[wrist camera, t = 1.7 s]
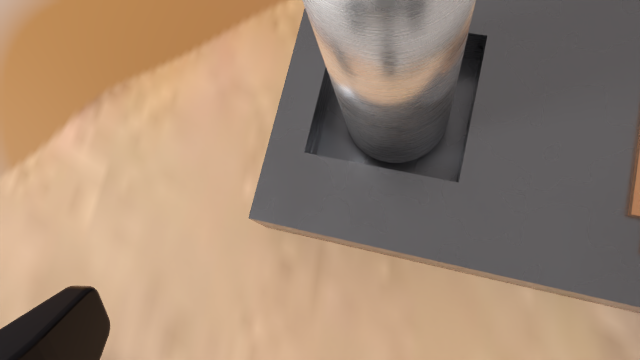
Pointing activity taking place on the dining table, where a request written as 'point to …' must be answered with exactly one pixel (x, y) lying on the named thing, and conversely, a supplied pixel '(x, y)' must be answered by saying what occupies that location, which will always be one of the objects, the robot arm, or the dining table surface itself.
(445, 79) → the steel peg
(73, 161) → the dining table surface
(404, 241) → the socket rail
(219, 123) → the dining table surface
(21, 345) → the robot arm
